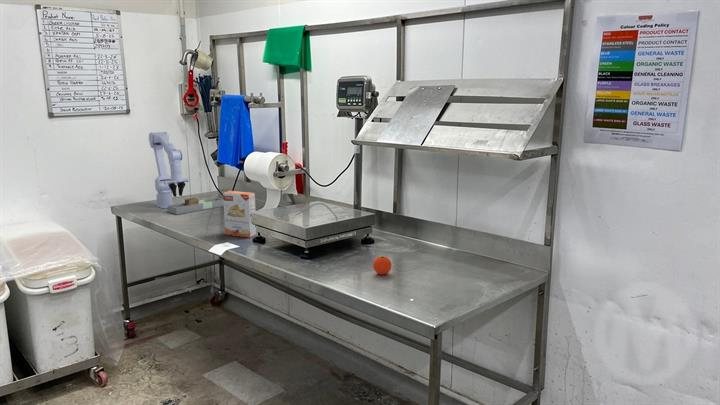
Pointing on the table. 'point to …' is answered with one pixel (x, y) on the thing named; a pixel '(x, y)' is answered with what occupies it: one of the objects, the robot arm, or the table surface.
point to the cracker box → (239, 213)
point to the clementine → (382, 265)
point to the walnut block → (191, 201)
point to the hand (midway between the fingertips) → (177, 196)
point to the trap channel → (196, 206)
